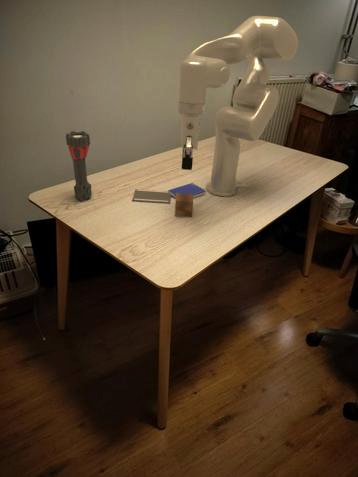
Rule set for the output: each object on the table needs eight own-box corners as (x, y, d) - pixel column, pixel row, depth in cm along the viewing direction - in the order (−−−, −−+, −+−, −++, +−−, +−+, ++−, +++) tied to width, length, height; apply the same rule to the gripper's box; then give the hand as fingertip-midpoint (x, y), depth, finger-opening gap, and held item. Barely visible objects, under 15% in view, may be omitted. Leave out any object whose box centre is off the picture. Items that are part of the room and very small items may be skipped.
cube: (191, 208, 119) (193, 193, 115) (192, 217, 114) (193, 202, 110) (175, 207, 119) (176, 192, 115) (174, 216, 114) (175, 200, 110)
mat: (171, 192, 128) (171, 191, 128) (170, 203, 121) (170, 202, 120) (135, 190, 128) (135, 189, 128) (132, 201, 120) (132, 200, 120)
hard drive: (191, 182, 133) (167, 189, 125) (206, 190, 128) (181, 198, 121) (191, 185, 133) (167, 193, 126) (205, 193, 129) (181, 202, 122)
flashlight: (88, 189, 126) (81, 128, 113) (99, 196, 122) (93, 134, 109) (69, 194, 122) (60, 132, 109) (80, 202, 117) (72, 139, 104)
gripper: (205, 116, 89) (199, 175, 99) (203, 102, 103) (198, 154, 113) (177, 114, 89) (174, 173, 99) (179, 100, 103) (176, 153, 113)
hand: (186, 163), depth 106 cm, fingers open, 9 cm apart
